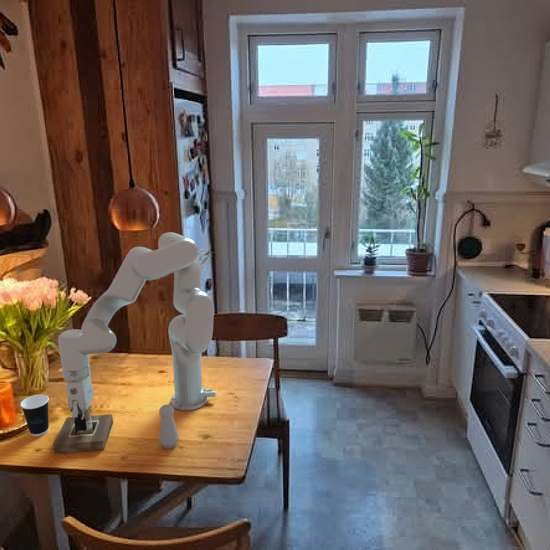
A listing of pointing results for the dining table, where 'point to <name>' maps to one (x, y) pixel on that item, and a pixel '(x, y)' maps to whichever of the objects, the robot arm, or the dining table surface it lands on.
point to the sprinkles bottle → (87, 422)
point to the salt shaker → (167, 427)
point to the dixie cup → (36, 414)
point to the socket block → (83, 436)
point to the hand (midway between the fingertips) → (83, 423)
